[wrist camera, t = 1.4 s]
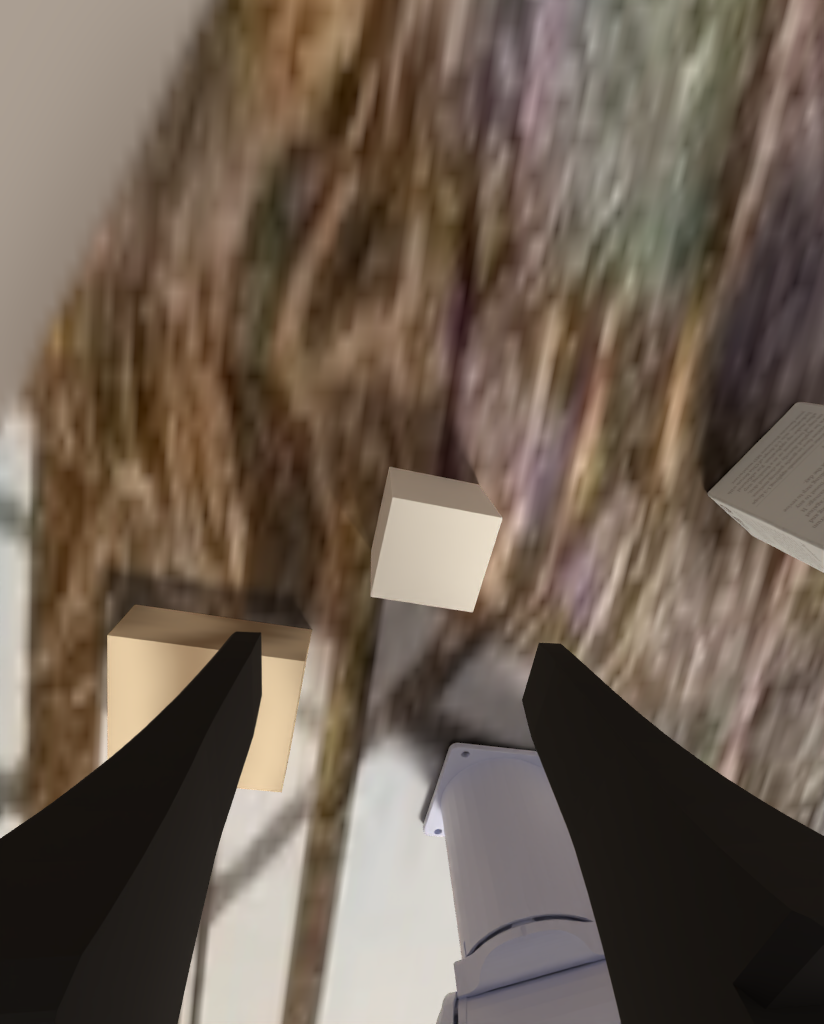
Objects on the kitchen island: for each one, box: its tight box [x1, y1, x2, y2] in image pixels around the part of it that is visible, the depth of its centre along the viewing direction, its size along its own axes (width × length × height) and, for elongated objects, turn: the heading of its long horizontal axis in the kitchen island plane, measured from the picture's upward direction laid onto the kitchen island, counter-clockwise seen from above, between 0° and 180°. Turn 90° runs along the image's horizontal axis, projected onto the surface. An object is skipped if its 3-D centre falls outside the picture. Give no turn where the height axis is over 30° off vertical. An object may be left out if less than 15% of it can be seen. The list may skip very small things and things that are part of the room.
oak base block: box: [107, 604, 312, 792], centre depth 24 cm, size 9×9×3 cm
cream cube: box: [371, 467, 503, 612], centre depth 21 cm, size 4×4×4 cm
